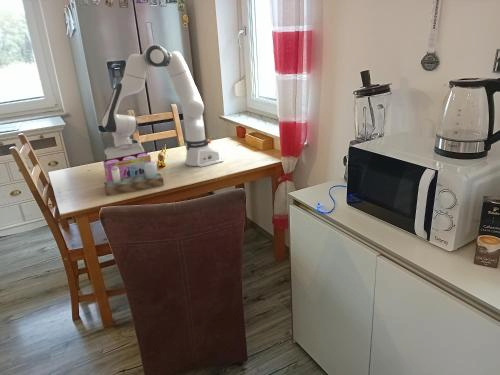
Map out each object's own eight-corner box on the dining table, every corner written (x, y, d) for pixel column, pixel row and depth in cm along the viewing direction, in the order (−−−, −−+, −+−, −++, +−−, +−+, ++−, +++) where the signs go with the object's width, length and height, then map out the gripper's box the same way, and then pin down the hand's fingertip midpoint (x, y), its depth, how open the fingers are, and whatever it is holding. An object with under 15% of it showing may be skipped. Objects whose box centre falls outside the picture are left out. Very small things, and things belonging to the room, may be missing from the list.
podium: (160, 180, 210) (159, 172, 209) (164, 185, 203) (163, 177, 202) (105, 189, 200) (103, 182, 198) (106, 195, 193) (105, 187, 192)
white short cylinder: (156, 173, 207) (155, 161, 205) (159, 177, 202) (157, 164, 199) (144, 175, 205) (142, 163, 202) (146, 179, 199) (144, 166, 197)
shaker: (120, 180, 199) (117, 164, 196) (121, 183, 196) (118, 166, 193) (113, 182, 198) (110, 165, 195) (114, 184, 195) (111, 167, 192)
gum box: (151, 174, 219) (147, 151, 214) (156, 178, 213) (153, 154, 207) (106, 184, 207) (102, 159, 202) (111, 189, 201) (106, 164, 196)
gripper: (103, 145, 211) (108, 168, 207) (142, 140, 219) (147, 161, 214) (104, 151, 217) (108, 173, 212) (141, 145, 224) (147, 167, 220)
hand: (128, 167), depth 214 cm, fingers closed
